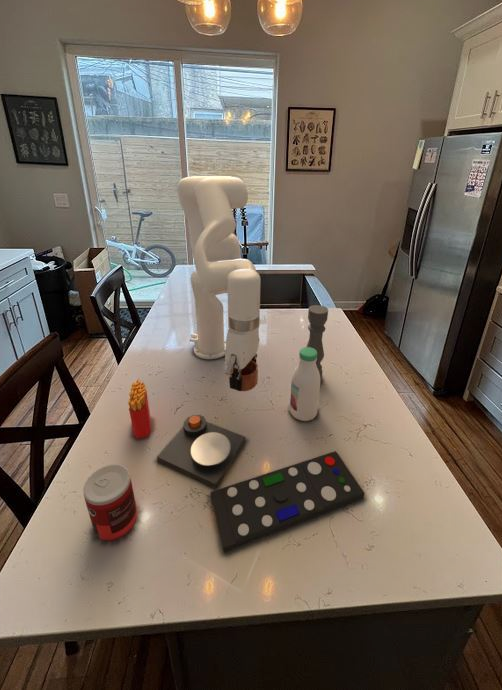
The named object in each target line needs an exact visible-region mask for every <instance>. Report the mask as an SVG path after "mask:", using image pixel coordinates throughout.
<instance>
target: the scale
mask: <svg viewBox="0 0 502 690" xmlns="http://www.w3.org/2000/svg"><path fill="white" fill-rule="evenodd" d="M192 416H199V417H200V422H201V424H200V426H199V427H197V428H191V427H190V425H189V419H190V418H191V417H192ZM211 432H215V433H220V434H223V435H224V436H226V437H227V438H228V440H229V442H230V445H231V450H230V453H229V455H228V457H227V458H226V459H225V460H224V461H223V462H222V463H220V464H218V465H215V466H208V467H207V466H201V465H199V464H197V463H196V462H195V461H194V460H193V459H192V457H191V446H192V444H193V442H194V441H195V440H196V439H197V438H198V437H200V436H201V435H203V434H206V433H211ZM246 439H247V437H246V436H244V435H242V434H239V433H237V432H234V431H231V430H229V429H227V428H223V427H221V426H218V425H216V424H213V423H211V422H208V421H207V419H206V418H205V416H203V415H201V414H192V415H190V416H187V418H186V419H185V420H184V421H183V425H182V428H181V429H180V430H179V431H178V432H177V433H176V435H175V436H174V437H172V439H171V440H170V441H169V442H168V443H167V444H166V446H165V447H163V450H161V451H160V452H159V454H158V455H157V456H156V459H157V462H159V463H160V464H163V465H164V466H167V467H169V468H172V469H174V470H176V471H178V472H180V473H182V474H184V475H186V476H188V477H190V478H193V479H195V480H197V481H199V482H201V483H204V484H206V485H208V486H210V487H212V488H214V489H217V487H218V486H219V484H220V482H221V481H222V480H223V478H224V477H225V475H226V473H227V471H228V470H229V468H230V467H231V465H232V463H233V462H234V461H235V459H236V458H237V455H238V454H239V453H240V450H242V447H243V446H244V444H245V443H246Z"/></svg>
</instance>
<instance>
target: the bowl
mask: <svg viewBox="0 0 502 690" xmlns="http://www.w3.org/2000/svg"><path fill="white" fill-rule="evenodd" d="M235 365H238V364H237V362H236V364H235ZM233 372H234V373H236V374H237V373H238V369H237V368H234V370H233ZM241 378H242V390H241V391H240V392H248V391H251V390H253V389H255V388H256V386H257V385H258V382H259V380H258V379H259V365H258V363H257V361H256V362H254V361H253V360H250V362H249V363H248V364H247V365H246V366H245V367H244V368H243V369H242V373H241ZM228 383H229V384H230V377H228Z"/></svg>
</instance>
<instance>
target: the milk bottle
mask: <svg viewBox="0 0 502 690" xmlns="http://www.w3.org/2000/svg"><path fill="white" fill-rule="evenodd" d="M298 355H299V356H298V359H299V361H298V363H297V366H296V367H295V368H294V370H293V372H292V376H291V383H290V385H291V386H290V398H289V412H290V414H291V415H292V417H293V418H294V419H296V420H298V421H302V422H307V421H308V422H309V421H311V420H313V419H315V417H316V416H317V415H318V410H319V402H320V390H321V383H320V373H319V371H318V368H317V366H316V361H317V351H316V350H315V349H313V348H310V347H302V348H300V350H299V353H298Z"/></svg>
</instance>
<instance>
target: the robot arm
mask: <svg viewBox="0 0 502 690" xmlns="http://www.w3.org/2000/svg"><path fill="white" fill-rule="evenodd" d="M177 196H178V200H179V204H180V206H181V209H182V212H183V214H184V215H185V217H186V220H187V225H188V233H189V241H190V248H191V249H190V250H191V255H192V258H193V262H194V267H195V270H193V271H192V272H191V274H190V285H191V288H192V295H193V299H194V309H195V323H196V333H193V332H191V334H190V337H189V342H191V343H194V346H193V352H194V355H195V356H196V357H198V358H200V359H203V360H215V359H216V360H217V359H220V358H222V357H224V361H225V362H224V363H225V365H226V367H225V371H224V374H225V375H226V377H228V378H229V377H230V383H229V388H230V389H232V390H235V391H237V392H242V391H241V390H242V378H241V373H242V369H243V368H244V367H245V366H246V365H247V364H248V363H249V362H250V360H253V361H254V362H256V363H257V358H258V351H259V346H260V331H259V330H260V321H261V319H260V314H261V311H260V310H261V282H262V281H261V276H260V274H259V273H258V272H257V270H256V266H255V264H253V262H252V261H251V260H250V259H247V258H242V253H241V245H240V241H239V238H238V237H237V235H236V234H235V233H234V232H235V230H236V227H237V222H236V219H235V216H234V212H233V209H243V208H244V207H246V205H247V203H248V199H249V194H248V188H247V186H246V184H245V182H244V181H243V180H242V179H241V178H239V177H234V176H228V175H212V176H211V175H195V176H187V177H183V178H181V179H180V180H179V181H178V183H177ZM222 294H227V327H228V329H227V333H226V339H225V321H224V320H225V319H224V304H223V303H222V301H221V300H220V299H219V297H217V296H219V295H222ZM236 362H237V364H238V365H235V364H236ZM234 368H237V369H238V373H237V374H236V373H234V372H233V370H234Z"/></svg>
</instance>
